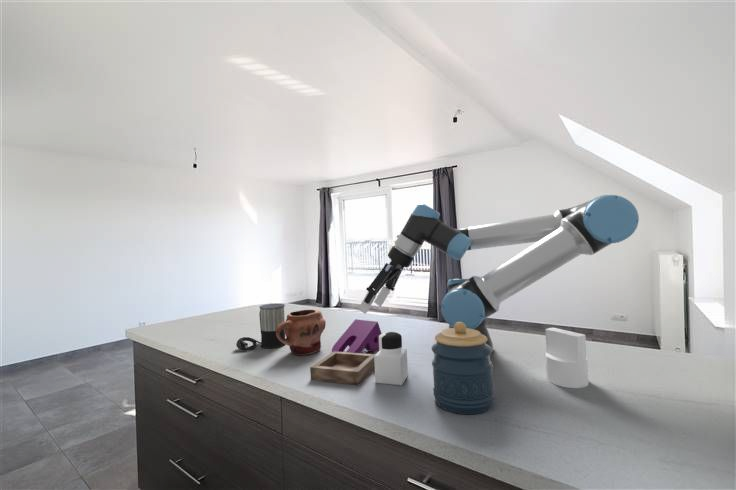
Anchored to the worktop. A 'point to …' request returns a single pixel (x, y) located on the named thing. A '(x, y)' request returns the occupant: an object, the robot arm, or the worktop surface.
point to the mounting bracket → (359, 337)
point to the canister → (462, 370)
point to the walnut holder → (343, 368)
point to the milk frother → (267, 328)
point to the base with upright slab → (566, 358)
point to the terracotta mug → (302, 331)
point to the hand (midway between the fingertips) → (370, 307)
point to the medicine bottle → (391, 360)
